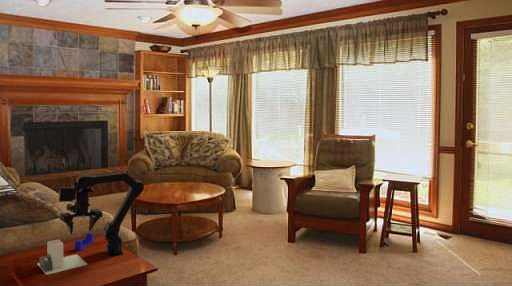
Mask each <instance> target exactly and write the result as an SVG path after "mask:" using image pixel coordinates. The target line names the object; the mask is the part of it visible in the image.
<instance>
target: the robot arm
mask: <svg viewBox="0 0 512 286" xmlns="http://www.w3.org/2000/svg"><path fill="white" fill-rule="evenodd" d="M115 182H124V183H125V184H127V185H128V187H127V193H126V196H125V198H124V199H123V201H122V203H121V205H120V206H119V209H118V210H117V212H116V214H115V216H113V219H112V220H111V221H110V222H109V221H107V222H106V224H105V226H104V227H103V228H102V229H103V236H104V238H105V240H106V241H107V242H106V247H105V249H106V250H105V253H106V254H107V255H108V257H115V256H120V255H123V254H124V252H123V250H122V249H123V247H122V246H123V239H122V237H121V236H120V234H119V233H120V229H121V224H122V223H123V222H124V220H125V218H126V216H127V215H128V214H127V213H129V210H130V209H131V207H132V205H133V203H134V202H135V200H136V199H137V198H138V197H139V196H140V195H141V194H142V192H144V190H145V186H144V183H142V181H141V180H139V179H134V177H132V176H131V175H129V174H128V173H127V172H126V171H120V172H111V173H104V174H92V173H91V174H90V173H81V174H78V176H77V177H76V181H75V182H74V183H73V184H72V185H71V186H66V187H65V186H59V192H58V202H59V203H62V202H65V203H66V202H73V201H74V200H75V202H74V204H72V203H66V207H65V209H66V211H67V212H63V213H60V214H59V220H60V221H62V222H63V223H65V224H66V226H67V228H68V232H69V234H70V235H73V231H74V230H73V229H74V221H73V220H74V219H77V218H78V219H79V218H85V217H88V218H89V221H88V222H89V225H88V231H89V232H91V231H93V228H94V227H95V225H96V223H97V222H98V220H100V219H101V218H102V217H103V216H104V215H103V214H104V213H103V211H102V210H100V209H98V208H92V209H91V208H90V206H91V204H90V193H94V192H95V190H94V189H93V188H92V187H93V186H96V185H102V184H107V183H115ZM89 208H90V210H89ZM71 213H73V214H71Z"/></svg>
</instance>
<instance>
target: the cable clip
mask: <svg viewBox="0 0 512 286" xmlns="http://www.w3.org/2000/svg"><path fill="white" fill-rule="evenodd" d="M92 243H94V233H93V232H86V235H85V238H83V239H82V240H80V239H76V240H74V250H75V251H79V252H81V251H82V250H85V248H87V247H88V246H90V245H91V244H92Z"/></svg>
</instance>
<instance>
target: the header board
mask: <svg viewBox="0 0 512 286" xmlns="http://www.w3.org/2000/svg"><path fill="white" fill-rule="evenodd" d="M63 261H64V266H63V267H59V268H55V269H53V268H52V261H51V260H50V259H49V257H48V255H43V256H39V262H37V263H36V264H37V265H38V267H39V268H40V270H42V272H43V273H44V275H46V276H48V275H51V274H55V273H60V272H63V271H67V270H71V269H75V268H79V267H84V266H87V265H88V263H87V262H86V261H85V260H83V259H82V258H81V257H80V256H79V255H78V254H72V255H67V256H63Z"/></svg>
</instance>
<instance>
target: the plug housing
mask: <svg viewBox="0 0 512 286" xmlns="http://www.w3.org/2000/svg"><path fill="white" fill-rule="evenodd" d="M46 244H47V245H46V248H47V256H48V257H49V259H50V260H51V261H52V268H53V269H55V268H59V267H63V266H64V261H63V257H64V243H63V242H62V241H61V240H60V239H55V240H50V241H47V243H46Z"/></svg>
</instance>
